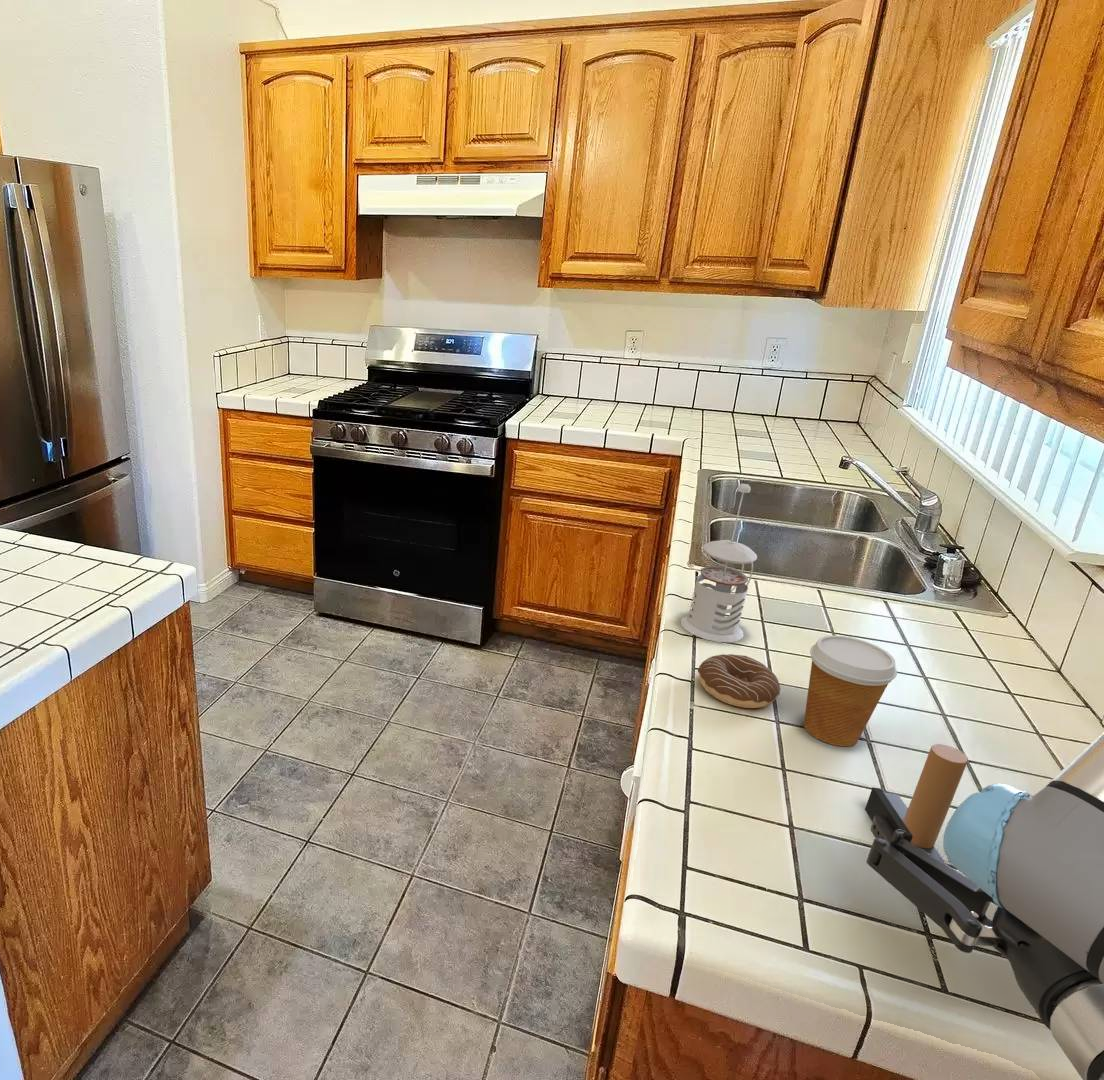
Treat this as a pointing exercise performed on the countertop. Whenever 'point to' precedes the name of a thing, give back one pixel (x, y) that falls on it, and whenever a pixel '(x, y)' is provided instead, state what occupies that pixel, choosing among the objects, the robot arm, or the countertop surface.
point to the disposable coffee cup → (845, 687)
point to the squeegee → (932, 796)
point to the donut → (739, 680)
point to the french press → (721, 590)
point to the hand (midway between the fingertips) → (947, 809)
